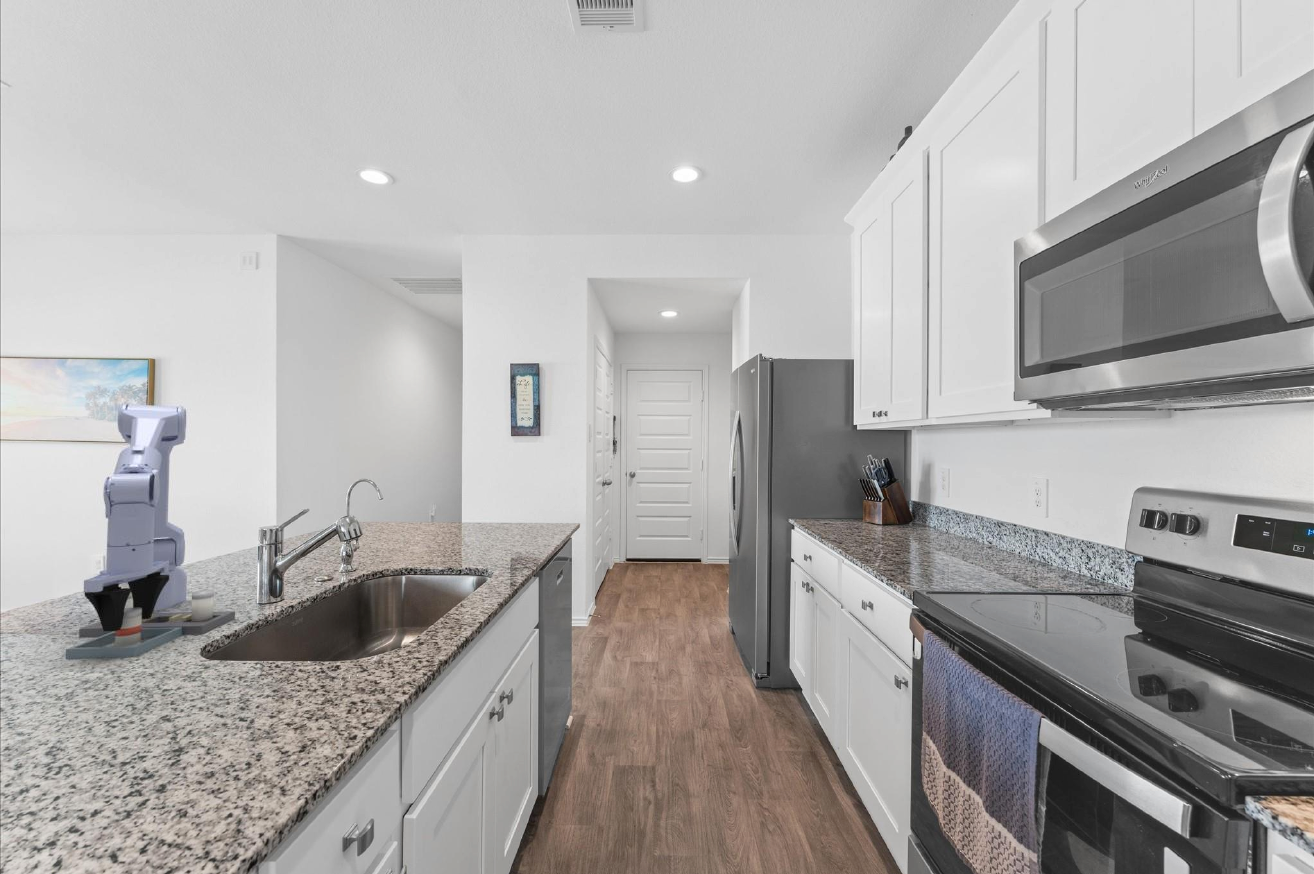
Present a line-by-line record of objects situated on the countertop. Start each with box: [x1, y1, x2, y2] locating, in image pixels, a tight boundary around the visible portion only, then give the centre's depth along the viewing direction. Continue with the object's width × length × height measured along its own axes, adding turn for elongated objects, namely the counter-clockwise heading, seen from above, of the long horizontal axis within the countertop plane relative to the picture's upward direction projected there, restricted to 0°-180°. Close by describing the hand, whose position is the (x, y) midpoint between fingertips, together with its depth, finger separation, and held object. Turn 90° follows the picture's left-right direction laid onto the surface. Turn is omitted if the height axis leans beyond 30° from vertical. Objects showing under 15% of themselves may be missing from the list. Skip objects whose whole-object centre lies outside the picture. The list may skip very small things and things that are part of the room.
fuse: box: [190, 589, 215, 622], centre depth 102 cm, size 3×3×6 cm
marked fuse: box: [113, 607, 142, 647], centre depth 92 cm, size 3×3×6 cm
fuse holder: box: [78, 610, 236, 639], centre depth 102 cm, size 9×20×3 cm, turn 96°
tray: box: [65, 627, 183, 660], centre depth 92 cm, size 10×10×2 cm
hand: (128, 624), depth 92 cm, fingers open, 6 cm apart
